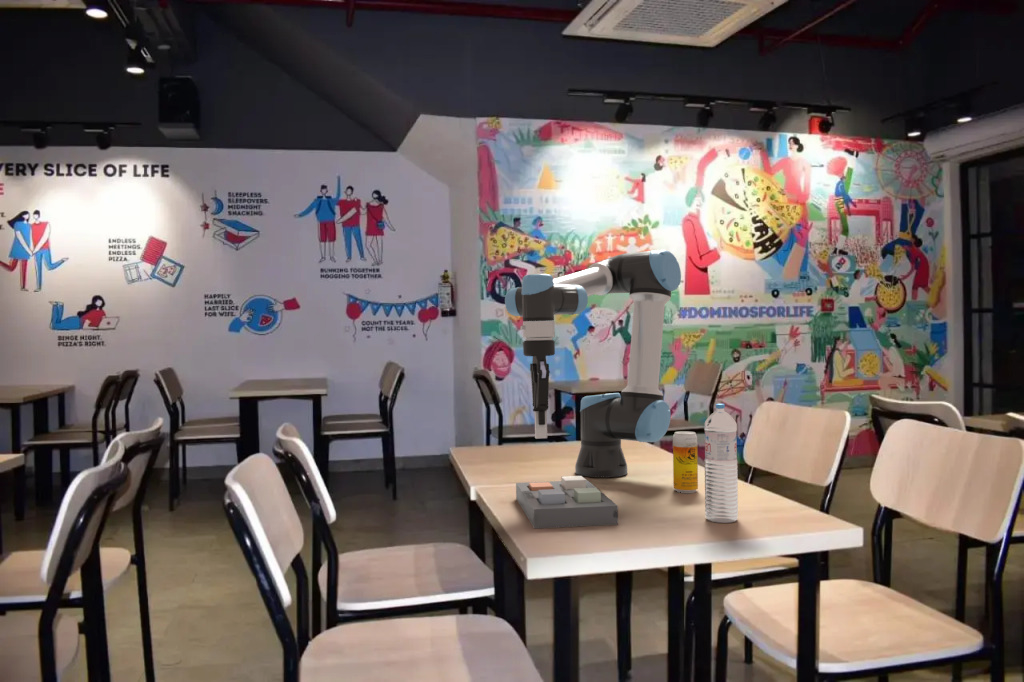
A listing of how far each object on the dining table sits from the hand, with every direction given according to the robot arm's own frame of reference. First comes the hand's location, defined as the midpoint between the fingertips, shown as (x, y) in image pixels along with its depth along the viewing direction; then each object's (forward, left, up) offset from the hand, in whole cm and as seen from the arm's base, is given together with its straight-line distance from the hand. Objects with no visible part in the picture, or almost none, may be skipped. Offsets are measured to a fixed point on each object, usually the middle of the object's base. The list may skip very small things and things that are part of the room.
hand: (541, 437), depth 172 cm
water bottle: (-36, +21, -16) cm, 45 cm away
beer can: (-39, -8, -16) cm, 43 cm away
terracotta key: (0, 0, -14) cm, 14 cm away
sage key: (-8, +14, -13) cm, 21 cm away
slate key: (0, +14, -13) cm, 19 cm away
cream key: (-8, 0, -13) cm, 15 cm away
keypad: (-4, +7, -16) cm, 18 cm away
